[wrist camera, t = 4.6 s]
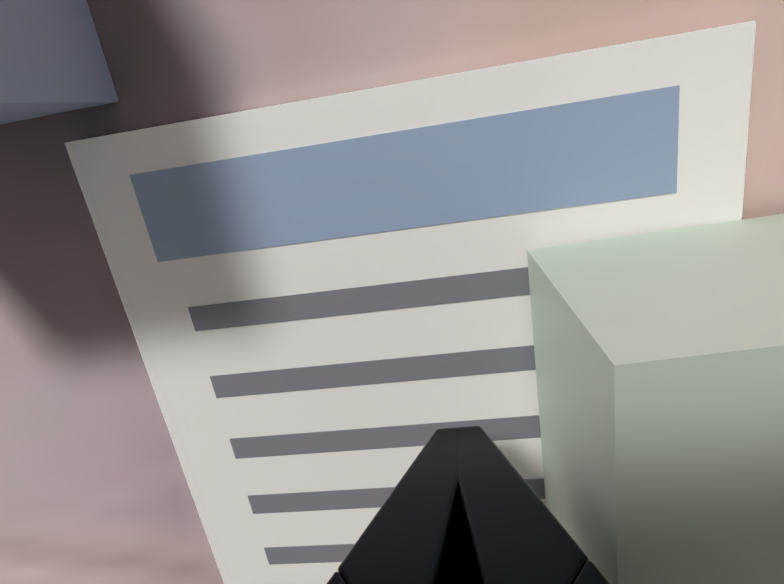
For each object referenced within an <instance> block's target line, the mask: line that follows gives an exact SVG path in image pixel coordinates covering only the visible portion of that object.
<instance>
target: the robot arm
mask: <svg viewBox="0 0 784 584" xmlns="http://www.w3.org/2000/svg"><path fill="white" fill-rule="evenodd" d="M327 584H610V583H609V582H608V581H607V580H606V579H605V577H604V576H603V575H602V574H601V572H600V571H599V570H598V569H597V567H596V566H595V565H594V564H593V563H592V562H591V561H589V559H588V557H587V556H586V554H585V553H584V552H583V551H582V550H581V548H580V547H579V546H578V545H577V543H576V542H575V541H574V540H573V539H572V537H571V536H570V535H569V534H568V532H567V531H566V530H565V529H564V527H563V526H562V525H561V524H560V523H559V521H558V520H557V519H556V518H555V516H554V515H553V514H552V513H551V512H550V510H549V509H548V508H547V507H546V505H545V504H544V503H543V502H542V501H541V499H540V498H539V497H538V496H537V494H536V493H535V492H534V491H533V490H532V488H531V487H530V486H529V485H528V483H527V482H526V481H525V480H524V478H523V477H522V476H521V475H520V474H519V472H518V471H517V470H516V469H515V467H514V466H513V465H512V464H511V463H510V461H509V460H508V459H507V458H506V456H505V455H504V454H503V453H502V452H501V450H500V449H499V448H498V447H497V445H496V444H495V443H494V442H493V441H492V439H491V438H490V437H489V436H488V434H487V433H486V432H485V431H484V429H483V428H482V427H481V426H479V425H474V426H463V427H451V428H439V429H437V430H436V431H435V432H434V433H433V435H432V436H431V437H430V439H429V440H428V442H427V443H426V445H425V446H424V447H423V449H422V450H421V452H420V453H419V454H418V456H417V457H416V459H415V460H414V461H413V463H412V464H411V466H410V467H409V469H408V470H407V471H406V473H405V474H404V476H403V477H402V478H401V480H400V481H399V483H398V484H397V485H396V487H395V488H394V490H393V491H392V492H391V494H390V495H389V497H388V498H387V500H386V501H385V502H384V504H383V505H382V507H381V508H380V509H379V511H378V512H377V514H376V515H375V516H374V518H373V519H372V521H371V522H370V523H369V525H368V526H367V528H366V529H365V531H364V532H363V533H362V535H361V536H360V538H359V539H358V540H357V542H356V543H355V545H354V546H353V547H352V549H351V550H350V552H349V553H348V555H347V556H346V557H345V559H344V560H343V562H342V563H341V564H340V566H339V567H338V572H335V573H334V574H333V575H332V577H331V578H330V579H329V581H328V582H327Z"/></svg>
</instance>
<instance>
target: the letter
mask: <svg viewBox="0 0 784 584" xmlns="http://www.w3.org/2000/svg"><path fill="white" fill-rule="evenodd" d="M755 29H756V20H754V21H748V22H743V23H737V24H731V25H726V26H720V27H714V28H709V29H703V30H697V31H692V32H686V33H681V34H675V35H669V36H664V37H658V38H652V39H647V40H641V41H635V42H630V43H624V44H618V45H613V46H607V47H602V48H596V49H590V50H585V51H579V52H573V53H568V54H562V55H556V56H551V57H545V58H539V59H534V60H528V61H523V62H517V63H511V64H506V65H500V66H494V67H489V68H483V69H477V70H472V71H466V72H460V73H455V74H449V75H444V76H438V77H432V78H427V79H421V80H415V81H410V82H404V83H398V84H393V85H387V86H381V87H376V88H370V89H365V90H359V91H353V92H348V93H342V94H336V95H331V96H325V97H319V98H314V99H308V100H302V101H297V102H291V103H286V104H280V105H274V106H269V107H263V108H257V109H252V110H246V111H240V112H235V113H229V114H223V115H218V116H212V117H207V118H201V119H195V120H190V121H184V122H178V123H173V124H167V125H161V126H156V127H150V128H144V129H139V130H133V131H128V132H122V133H116V134H111V135H105V136H99V137H94V138H88V139H82V140H77V141H71V142H65V146H66V149H67V152H68V154H69V157H70V160H71V163H72V165H73V168H74V171H75V174H76V177H77V179H78V182H79V185H80V188H81V190H82V193H83V196H84V199H85V201H86V204H87V207H88V210H89V212H90V215H91V218H92V221H93V223H94V226H95V229H96V232H97V234H98V237H99V240H100V243H101V246H102V248H103V251H104V254H105V257H106V259H107V262H108V265H109V268H110V270H111V273H112V276H113V279H114V281H115V284H116V287H117V290H118V292H119V295H120V298H121V301H122V303H123V306H124V309H125V312H126V315H127V317H128V320H129V323H130V326H131V328H132V331H133V334H134V337H135V339H136V342H137V345H138V348H139V350H140V353H141V356H142V359H143V361H144V364H145V367H146V370H147V373H148V375H149V378H150V381H151V384H152V386H153V389H154V392H155V395H156V397H157V400H158V403H159V406H160V408H161V411H162V414H163V417H164V419H165V422H166V425H167V428H168V430H169V433H170V436H171V439H172V442H173V444H174V447H175V450H176V453H177V455H178V458H179V461H180V464H181V466H182V469H183V472H184V475H185V477H186V480H187V483H188V486H189V488H190V491H191V494H192V497H193V499H194V502H195V505H196V508H197V511H198V513H199V516H200V519H201V522H202V524H203V527H204V530H205V533H206V535H207V538H208V541H209V544H210V546H211V549H212V552H213V555H214V557H215V560H216V563H217V566H218V569H219V571H220V574H221V577H222V580H223V582H224V584H327V582H328V581H329V579H330V578H331V577H332V575H333V574H334V573H335V572H338V567H339V566H340V564H341V563H342V562H343V560H344V559H345V557H346V556H347V555H348V553H349V552H350V550H351V549H352V547H353V546H354V545H355V543H356V542H357V540H358V539H359V538H360V536H361V535H362V533H363V532H364V531H365V529H366V528H367V526H368V525H369V523H370V522H371V521H372V519H373V518H374V516H375V515H376V514H377V512H378V511H379V509H380V508H381V507H382V505H383V504H384V502H385V501H386V500H387V498H388V497H389V495H390V494H391V492H392V491H393V490H394V488H395V487H396V485H397V484H398V483H399V481H400V480H401V478H402V477H403V476H404V474H405V473H406V471H407V470H408V469H409V467H410V466H411V464H412V463H413V461H414V460H415V459H416V457H417V456H418V454H419V453H420V452H421V450H422V449H423V447H424V446H425V445H426V443H427V442H428V440H429V439H430V437H431V436H432V435H433V433H434V432H435V431H436V430H437V429H439V428H451V427H463V426H474V425H479V426H481V427H482V428H483V429H484V431H485V432H486V433H487V434H488V436H489V437H490V438H491V439H492V441H493V442H494V443H495V444H496V445H497V447H498V448H499V449H500V450H501V452H502V453H503V454H504V455H505V456H506V458H507V459H508V460H509V461H510V463H511V464H512V465H513V466H514V467H515V469H516V470H517V471H518V472H519V474H520V475H521V476H522V477H523V478H524V480H525V481H526V482H527V483H528V485H529V486H530V487H531V488H532V490H533V491H534V492H535V493H536V494H537V496H538V497H539V498H540V499H541V501H542V502H543V503H544V504H545V505H546V499H545V486H544V472H543V459H542V446H541V433H540V419H539V406H538V393H537V379H536V366H535V353H534V340H533V326H532V313H531V300H530V287H529V273H528V260H527V250H530V249H537V248H544V247H551V246H558V245H565V244H573V243H580V242H587V241H594V240H601V239H608V238H615V237H622V236H629V235H636V234H643V233H650V232H657V231H664V230H671V229H678V228H686V227H693V226H700V225H707V224H714V223H721V222H728V221H735V220H742V210H743V196H744V182H745V168H746V154H747V140H748V126H749V112H750V98H751V84H752V70H753V56H754V42H755Z"/></svg>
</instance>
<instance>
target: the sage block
mask: <svg viewBox="0 0 784 584" xmlns="http://www.w3.org/2000/svg"><path fill="white" fill-rule="evenodd" d="M527 260H528V273H529V287H530V300H531V313H532V326H533V340H534V353H535V366H536V379H537V393H538V406H539V419H540V433H541V446H542V459H543V472H544V486H545V499H546V507H547V508H548V509H549V510H550V512H551V513H552V514H553V515H554V516H555V518H556V519H557V520H558V521H559V523H560V524H561V525H562V526H563V527H564V529H565V530H566V531H567V532H568V534H569V535H570V536H571V537H572V539H573V540H574V541H575V542H576V543H577V545H578V546H579V547H580V548H581V550H582V551H583V552H584V553H585V554H586V556H587V557H588V559H589V561H591V562H592V563H593V564H594V565H595V566H596V567H597V569H598V570H599V571H600V572H601V574H602V575H603V576H604V577H605V579H606V580H607V581H608V582H609V583H610V584H784V214H777V215H770V216H763V217H756V218H749V219H742V220H735V221H728V222H721V223H714V224H707V225H700V226H693V227H686V228H678V229H671V230H664V231H657V232H650V233H643V234H636V235H629V236H622V237H615V238H608V239H601V240H594V241H587V242H580V243H573V244H565V245H558V246H551V247H544V248H537V249H530V250H527Z"/></svg>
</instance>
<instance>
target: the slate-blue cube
mask: <svg viewBox="0 0 784 584" xmlns="http://www.w3.org/2000/svg"><path fill="white" fill-rule="evenodd" d="M115 102H119V100H118V97H117V94H116V90H115V87H114V84H113V81H112V78H111V75H110V72H109V69H108V66H107V63H106V59H105V56H104V53H103V50H102V47H101V44H100V41H99V38H98V35H97V32H96V28H95V25H94V22H93V19H92V16H91V13H90V10H89V7H88V4H87V1H86V0H0V125H1V124H6V123H11V122H16V121H21V120H27V119H32V118H37V117H42V116H47V115H53V114H58V113H63V112H68V111H73V110H79V109H84V108H89V107H94V106H99V105H105V104H110V103H115Z"/></svg>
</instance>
